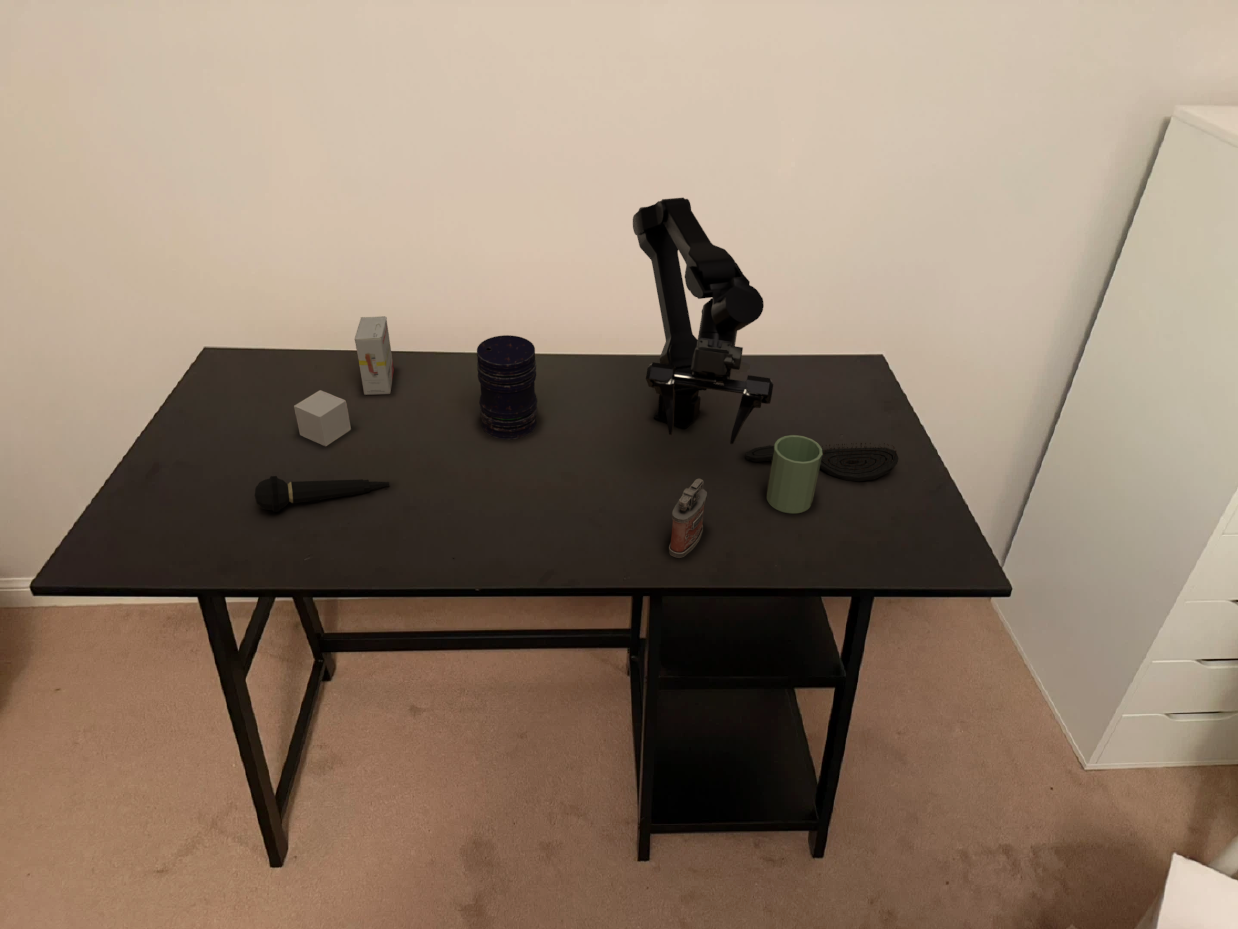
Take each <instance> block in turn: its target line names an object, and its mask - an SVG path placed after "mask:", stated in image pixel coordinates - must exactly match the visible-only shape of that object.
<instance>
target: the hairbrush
mask: <svg viewBox="0 0 1238 929" xmlns="http://www.w3.org/2000/svg"><path fill="white" fill-rule="evenodd" d="M864 444H865V445H864V446H863V442H860V446H859V447H858V446H855V447H848V446H846V448H845V445H846V443H841V445H842V446H841V447H843V446H844V447H843V448H840V446H839V443H838V444H837V443H836V444H835V445H836V446H838V447H837V448H835V447H833V448H832V447H831V444H828V445H827V444H825V446H826V447H827V446H828V447H829V449H828V448H826V449H822V459H821V463H820V468H819V469H821V470H822V471H823V472H825V473H826V474H828V475H829V476H832V477H835V478H838V479H839V480H843V481H851V482H865V481H871V480H872V481H873V480H876V479H878V478H881V477H882V476H884V475H887V474H890V473H891V471H892V470H893V469H894V468H895V467H896V465H898V462H899V455H898V452H897V449H896V447H895V446H893V444H891V447H892V448H889V445H890V444H888V443H887V444H886V442H884V443H883V445H885V444H886V446H887V447H885V446H883V447H882V446H880V445H878V447H876V446H874V447H866V445H867V442H865V443H864ZM850 445H853V443H852V442H851V443H850ZM855 445H857V442H856V443H855ZM869 445H871V442H869ZM823 446H824V445H821V448H823ZM773 450H774V445H772V444H771V445H770V444H769V445H763V446H759V447H758V446H757V447H754V448H751V449H750V450H747V451H746V452H745V460H747V461H751V462H754V463H757V462H758V463H759V462H769V461H772V456H773Z"/></svg>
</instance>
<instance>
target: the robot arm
mask: <svg viewBox="0 0 1238 929" xmlns="http://www.w3.org/2000/svg"><path fill="white" fill-rule="evenodd" d="M632 229H633V233H634V235H635V236H636V238H637V241H638V242H637V243H638V247H639V248H640V250H641V251H643V253H644V254H645V255H646V256H647V258H649V259H650V261H651V266H652V272H653V276H654V283H655V287H656V293H657V299H658V304H659V310H660V315H661V321H662V327H663V332H664V337H665V343H664V346H663V348H662V350H661V353H660V355H659V362H656V361H655V362H654V361H653V362H651V363H650V364H649V365H648V366H647V369H646V374H645V375H646V376H645V381H646V383H647V386H648V387H649V388H651V389H654V391H655V393H656V394H657V395H658V406H657V407H658V408H657V412H655V414H653V419H654V420H656V421H660V422H661V423H665V424H667V432H668V435H669V436H672V435H673V432H674V428H675V427H676V428H680V429H682V430H686V429H687V428H688V427H689V426H690V425H691V424H692V423H694V422H695V420H697V418H698V417H699V416H700V414H701V400H702V398H701V396H700V394H699V393H700V391H703V392H704V391H707V390H712V391H720V392H728V393H733V394H734V393H735V394H741V395H742V396H741V399H740V403H739V407H738V410H737V414H736V417H735V420H734V425H733V427H732V431H731V436H730V445H733V444H734V443H735V441H736V439H737V438H738V435H739V432H741V430H742V428H743V425H744V424H745V423H746V420H747V419H748V417H749V416H750V414H751V413H752V412H753V411H754V409H761V408H762V404H766V405H770V404H771V403H772V402H771V401H772V397H773V396H772V395H773V389H774V381H773V380H772V378H771V377H765V376H757V375H751V374H747V378H746V381H745V380H737V379H731V374H732V370H740V369H741V366H742V358H743V350H744V347H743V346H736V342H737V336H738V332H739V331H740V330H742V329H744V328H745V327H747V326H749V325H750V324H753V323H754V322H755V321H757V320H759V318H760V317H761V315H762V313H763V311H764V305H765V304H764V298H763V296H761V293H760V292H759V291H758V289H756V288H755V287H754V286H753V285H751V284H750V280H749V279H748V278H747V277H746V275H744V273H743V271H742V269H741V268H740V266H739V265H738V263H737V262H736V260H735V259H734V257H733V256H732V255H731V254H730V253H729V252H728V251H727V250H726V249H725V248H723V247H720V246H718V245H715V244H713V243H712V241H711V240H710V238H709V236H708V235H707V233H706V232H705V230H704V229H703V227H702V225H701V224H700V222H699V220H698V219H697V217H696V216H695V214H694V212H693V210H692V204H691V201H690V199H688V198H684V197H674V198H672V197H671V198H662V199H661V200H658V201H657V202H655V203H654V204H650V205H648V206H640V207H639V208H638V210H637V212H635V214H633V217H632ZM679 253H680V256H681V257H682V259H683V260H684V263H685V270H684V279H683V274H682V269H681V263H680V258H679ZM684 281H685V285H686V289H687V290H688V291H689V292H690V293H691V295H692V296H693V297H694V298H696V299H698V300H703V299H709V300H708V301H707V302H706V303H704V304H703V306H702V309H701V317H700V323H699V329H698V335H697V337H696V336H695V335H694V334H693V329H692V322H691V319H690V312H689V307H688V301H687V297H686V292H685V285H684Z"/></svg>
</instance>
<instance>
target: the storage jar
mask: <svg viewBox="0 0 1238 929" xmlns="http://www.w3.org/2000/svg"><path fill="white" fill-rule="evenodd" d="M476 356H477V357H476V360H477V362H476V370H477V379H478V382H479V384H480V385H479V386H480V395H479V402H478V403H479V414H480V419H481V428H482V430H483V431H484V433H486V434H487V435H488V436H490V437H493V438H495V439H499V440H517V439H521V438H525V437H527V436H529V435H530V434H531V433H532V432H534V431H535V429H536V428H537V424H538V420H537V413H538V397H537V394H536V389H535V381H536V380H537V361H536V347H535V345H534V343H532V341H530V340H529V339H527V338H524V337H522V336H517V335H508V334H507V335H505V334H504V335H495V336H491V337H488V338H486V339H484V340H483V341H481V342H480V343H479V344H478V345H477V348H476Z"/></svg>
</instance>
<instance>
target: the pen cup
mask: <svg viewBox="0 0 1238 929" xmlns="http://www.w3.org/2000/svg"><path fill="white" fill-rule="evenodd" d="M773 446H774V450H773V456H772V460H771V463H770V467H769V475H768V481H767V487H766V495H765V496H766V501H767V502H768V504H769V505H770V506H771V507H772V508H773V509H775V510H777V511H778V512H781V513H786V514H792V515H793V514H794V515H795V514H800V513H801V514H802V513H804V512H806V511H808V510H809V509H810V508H811V507H812V505H813V502H814V497H815V492H816V488H817V482H818V477H819V473H820V469H821V468H820V463H821V459H822V450H823V447H822V446H821V445H820V444H819V443H818V442H817V441H815V440H814V439H813V438H810V437H807V436H804V435H797V434H790V435H784V436H781V437H780V438H778V439H777V440H776V441H775V443H774V445H773Z"/></svg>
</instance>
